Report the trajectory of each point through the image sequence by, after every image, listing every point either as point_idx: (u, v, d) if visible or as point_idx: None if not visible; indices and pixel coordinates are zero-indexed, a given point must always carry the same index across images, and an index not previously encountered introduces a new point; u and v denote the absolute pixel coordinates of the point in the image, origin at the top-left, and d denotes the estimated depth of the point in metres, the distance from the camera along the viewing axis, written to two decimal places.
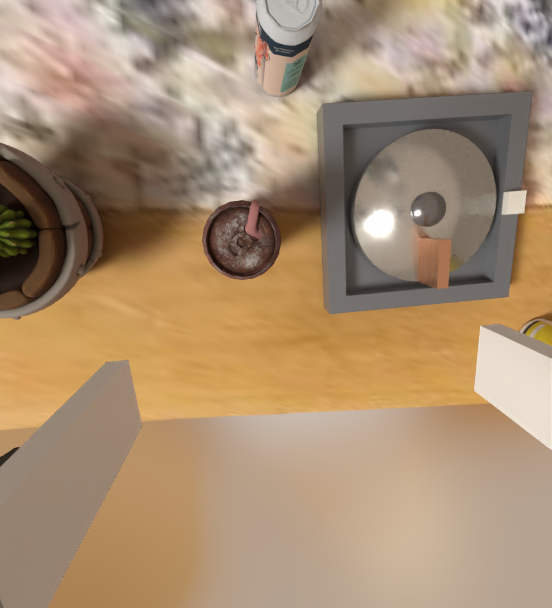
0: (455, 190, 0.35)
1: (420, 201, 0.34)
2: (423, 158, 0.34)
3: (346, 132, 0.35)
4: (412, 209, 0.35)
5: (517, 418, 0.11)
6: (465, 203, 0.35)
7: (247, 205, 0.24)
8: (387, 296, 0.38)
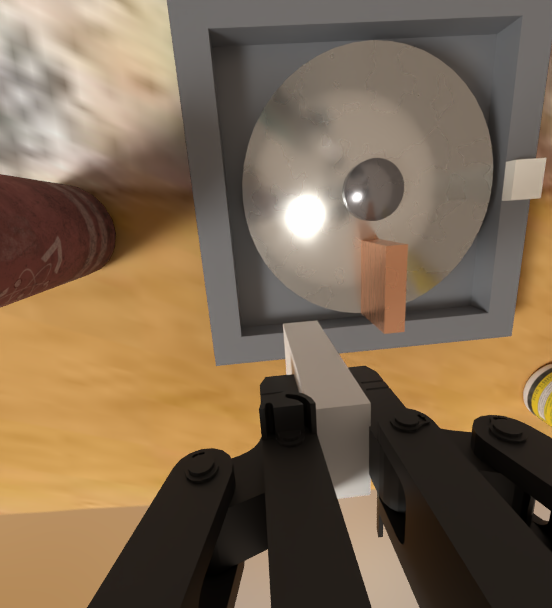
0: (422, 157, 0.20)
1: (357, 175, 0.19)
2: (362, 96, 0.19)
3: (228, 52, 0.20)
4: (344, 190, 0.20)
5: None
6: (439, 181, 0.20)
7: None
8: None
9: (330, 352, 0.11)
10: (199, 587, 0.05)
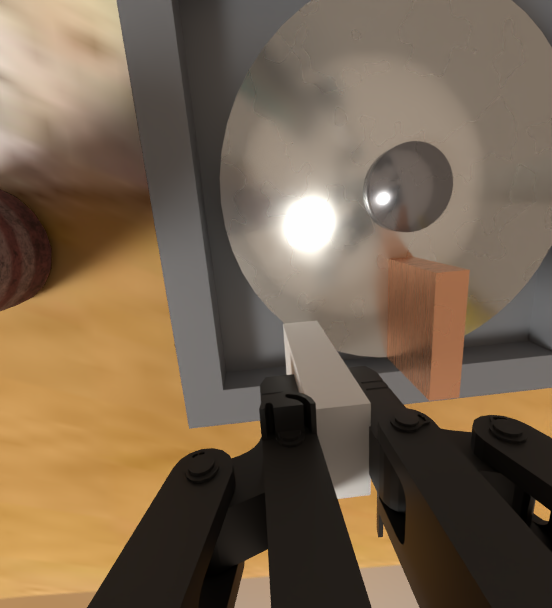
0: (477, 140, 0.14)
1: (386, 166, 0.13)
2: (393, 52, 0.13)
3: None
4: (367, 188, 0.14)
5: None
6: (500, 175, 0.14)
7: None
8: None
9: (330, 352, 0.11)
10: (199, 587, 0.05)
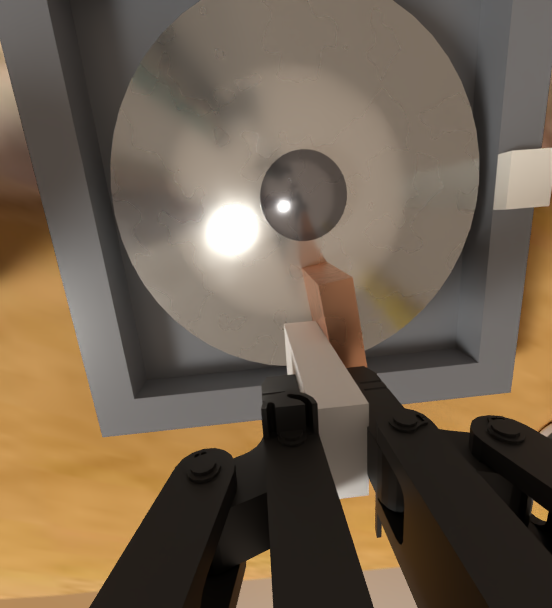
0: (368, 136, 0.14)
1: (273, 180, 0.13)
2: (261, 64, 0.13)
3: (92, 0, 0.14)
4: (260, 203, 0.13)
5: None
6: (400, 167, 0.14)
7: None
8: (233, 398, 0.17)
9: (329, 352, 0.11)
10: (201, 587, 0.05)
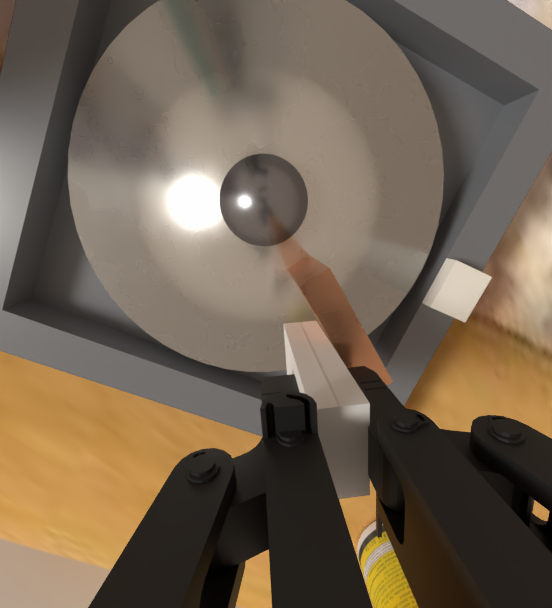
0: (308, 120, 0.13)
1: (229, 196, 0.13)
2: (181, 89, 0.13)
3: None
4: None
5: None
6: (351, 138, 0.13)
7: None
8: (108, 358, 0.15)
9: (329, 352, 0.11)
10: (200, 587, 0.05)
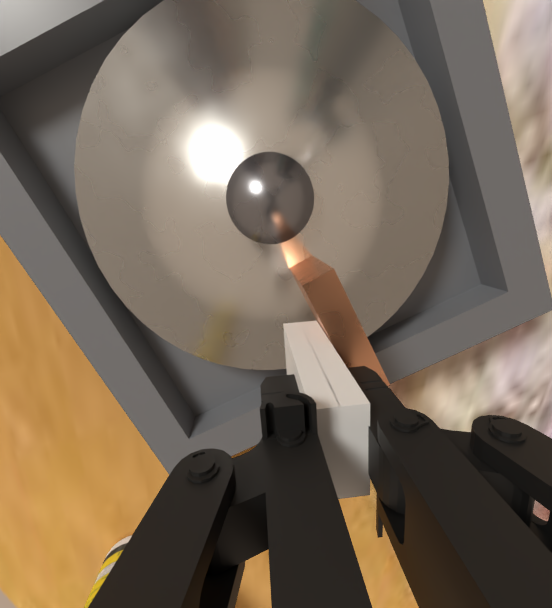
0: (318, 121, 0.13)
1: (236, 192, 0.13)
2: (194, 83, 0.13)
3: None
4: (230, 217, 0.13)
5: None
6: (359, 142, 0.14)
7: None
8: (23, 211, 0.14)
9: (330, 352, 0.11)
10: (199, 587, 0.05)
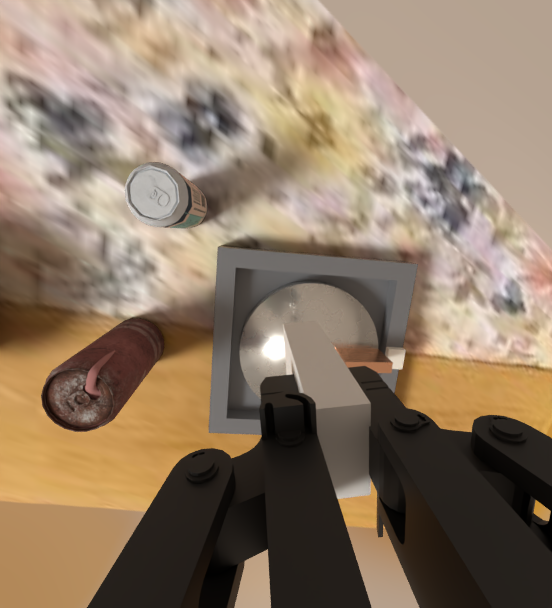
0: None
1: None
2: (263, 356, 0.37)
3: (244, 269, 0.37)
4: None
5: None
6: (309, 314, 0.36)
7: (87, 369, 0.25)
8: None
9: (330, 352, 0.11)
10: (199, 587, 0.05)
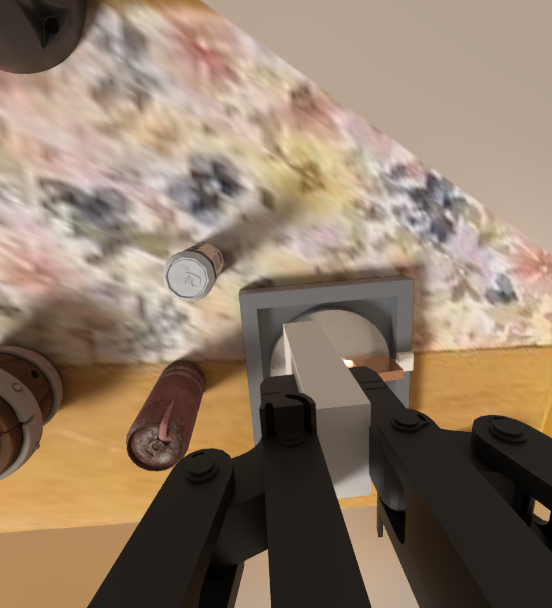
0: None
1: None
2: None
3: None
4: None
5: None
6: None
7: (158, 422, 0.31)
8: None
9: (330, 352, 0.11)
10: (199, 587, 0.05)
